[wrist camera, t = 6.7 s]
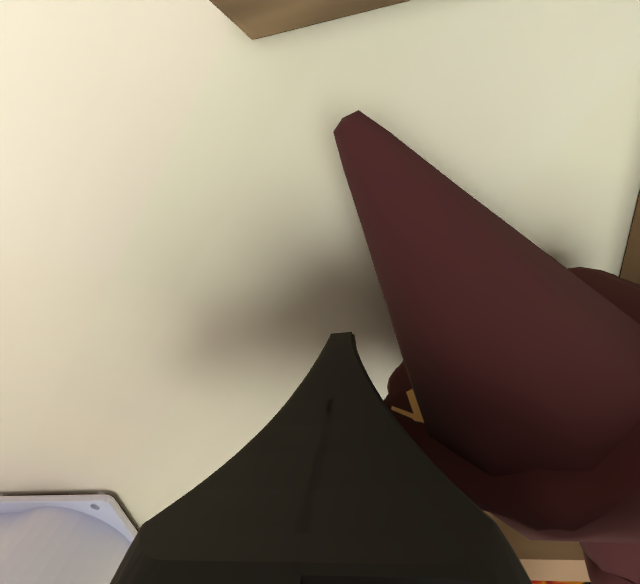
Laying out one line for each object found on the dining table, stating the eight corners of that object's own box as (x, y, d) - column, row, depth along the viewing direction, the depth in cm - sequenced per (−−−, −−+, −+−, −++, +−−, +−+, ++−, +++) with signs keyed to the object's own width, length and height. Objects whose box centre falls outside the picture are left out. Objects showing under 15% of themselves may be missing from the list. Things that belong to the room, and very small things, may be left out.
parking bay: (350, 504, 17) (350, 576, 14) (236, -37, 8) (174, -126, 5) (602, 501, 15) (657, 583, 12) (824, -208, 6) (1208, -488, 3)
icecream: (109, 331, 5) (510, 630, 10) (1169, -518, 1) (907, 699, 6) (269, 174, 10) (480, 429, 16) (529, -54, 6) (689, 397, 12)
